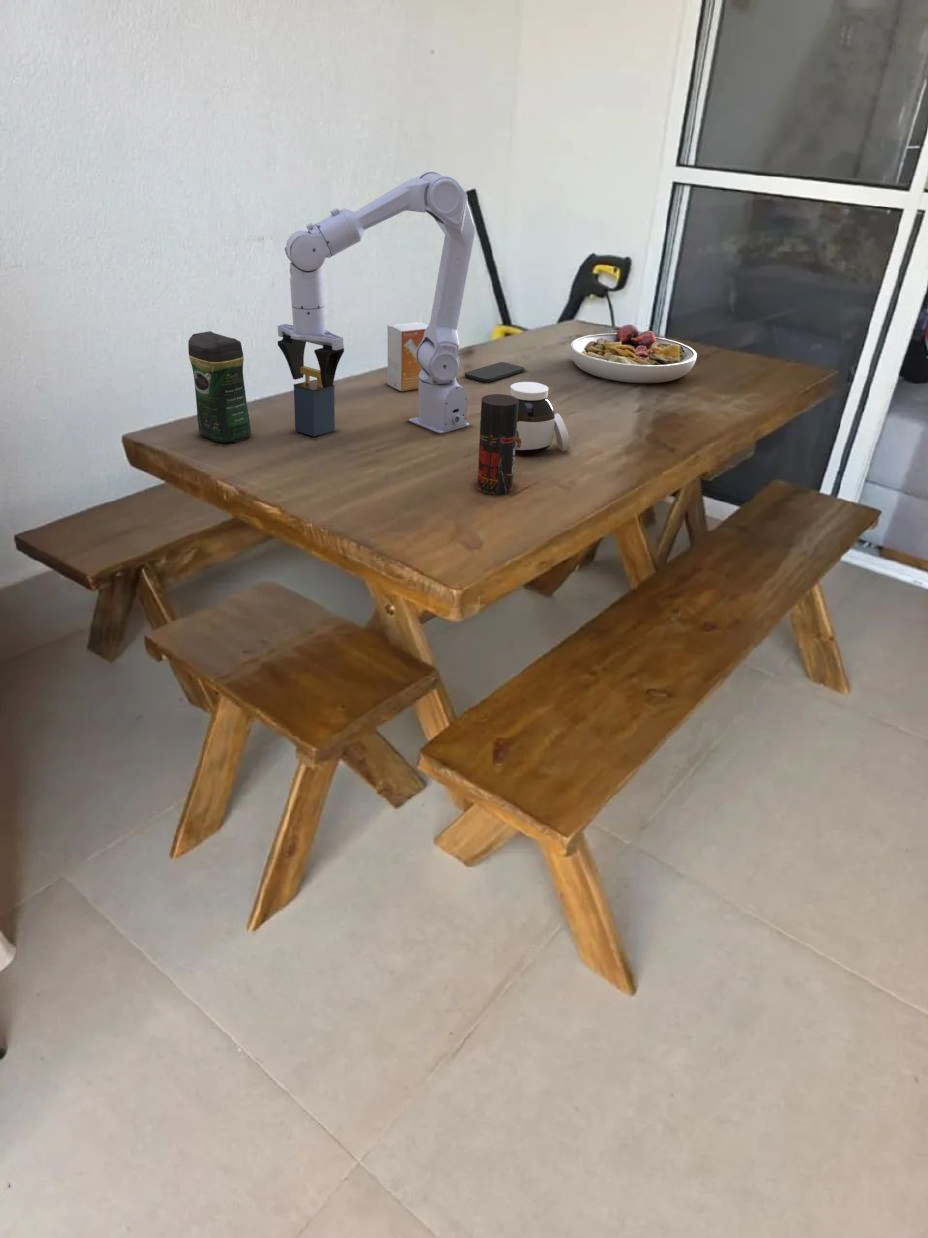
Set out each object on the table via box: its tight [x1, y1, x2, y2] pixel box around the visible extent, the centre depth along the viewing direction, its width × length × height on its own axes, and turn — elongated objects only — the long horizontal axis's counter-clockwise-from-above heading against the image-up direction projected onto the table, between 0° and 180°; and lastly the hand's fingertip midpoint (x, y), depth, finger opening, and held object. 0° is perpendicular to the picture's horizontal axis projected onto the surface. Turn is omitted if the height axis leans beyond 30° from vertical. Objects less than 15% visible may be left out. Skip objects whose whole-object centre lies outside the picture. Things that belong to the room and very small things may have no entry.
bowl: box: [569, 324, 698, 384], centre depth 206 cm, size 30×30×8 cm
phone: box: [464, 361, 525, 383], centre depth 200 cm, size 7×1×15 cm
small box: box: [386, 321, 429, 392], centre depth 187 cm, size 8×6×13 cm
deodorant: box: [476, 393, 519, 496], centre depth 139 cm, size 6×6×15 cm
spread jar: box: [509, 381, 571, 457], centre depth 156 cm, size 12×11×12 cm
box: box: [293, 365, 336, 437], centre depth 160 cm, size 12×6×6 cm
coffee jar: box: [187, 330, 252, 444], centre depth 154 cm, size 10×8×19 cm
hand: (312, 382), depth 158 cm, fingers open, 7 cm apart
